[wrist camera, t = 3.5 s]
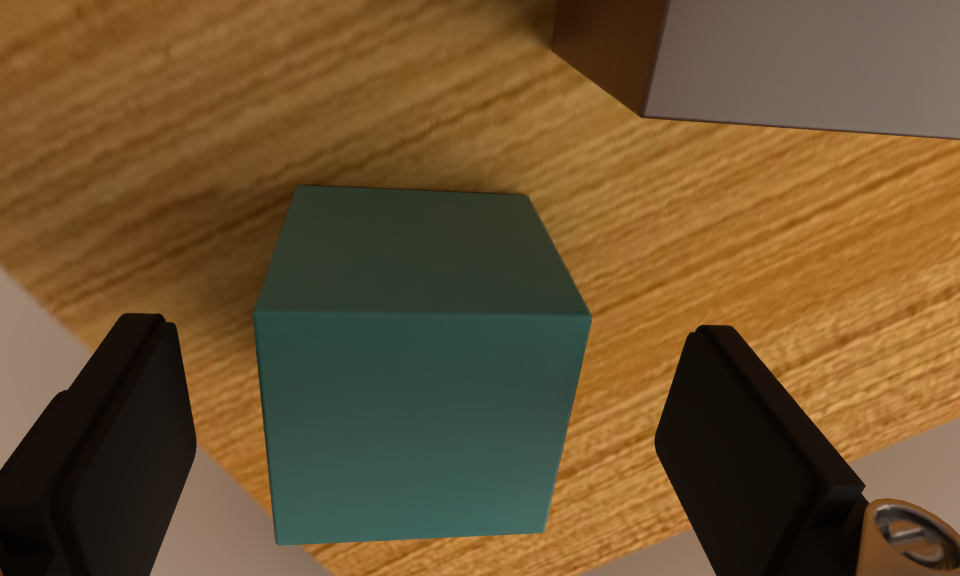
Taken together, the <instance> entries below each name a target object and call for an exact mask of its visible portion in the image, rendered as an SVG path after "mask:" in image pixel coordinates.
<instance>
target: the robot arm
mask: <svg viewBox="0 0 960 576" xmlns="http://www.w3.org/2000/svg"><path fill="white" fill-rule="evenodd" d="M655 449H656V453H657V455H658V457H659V459H660V461H661V463H662V465H663V468H664V470H665V472H666V474H667V476H668V478H669V480H670V482H671V484H672V486H673V488H674V490H675V492H676V494H677V496H678V498H679V500H680V502H681V504H682V506H683V508H684V510H685V512H686V515H687V517H688V519H689V521H690V523H691V525H692V527H693V529H694V531H695V533H696V535H697V537H698V539H699V541H700V543H701V545H702V547H703V549H704V551H705V553H706V555H707V557H708V559H709V562H710V564H711V566H712V568H713V570H714V572H715V574H716V576H960V535H959V534H958V533H957V532H956V531H955V530H954V529H953V528H952V527H951V526H950V525H948V524H947V523H946V522H944V521H942V520H941V519H940V518H939V517H937V516H936V515H934V514H932V513H931V512H929V511H927V510H925V509H923V508H921V507H919V506H916V505H914V504H911V503H908V502H905V501H902V500H896V499H889V498H886V499H877V500H875V501H873V502H872V503H869V502H868V501H867V500H866V499H865V498H864V496H863V495H862V494H861V493H862V491H863V489H864V488H865V486H866V485H865V484H864V483H863V482H862V480H861V479H860V478H859V477H858V476H857V475H856V473H855V472H854V471H853V470H852V468H851V467H850V466H849V465H848V464H847V463H846V461H845V460H844V459H843V458H842V457H841V455H840V454H839V453H838V452H837V451H836V449H835V448H834V447H833V446H832V445H831V443H830V442H829V441H828V440H827V439H826V437H825V436H824V435H823V434H822V433H821V431H820V430H819V429H818V428H817V427H816V425H815V424H814V423H813V422H812V421H811V419H810V418H809V417H808V416H807V415H806V413H805V412H804V411H803V410H802V409H801V407H800V406H799V405H798V404H797V403H796V401H795V400H794V399H793V398H792V397H791V395H790V394H789V393H788V392H787V391H786V389H785V388H784V387H783V386H782V385H781V384H780V382H779V381H778V380H777V379H776V378H775V376H774V375H773V374H772V373H771V372H770V370H769V369H768V368H767V367H766V366H765V364H764V363H763V362H762V361H761V360H760V358H759V357H758V356H757V355H756V354H755V352H754V351H753V350H752V349H751V348H750V346H749V345H748V344H747V343H746V342H745V340H744V339H743V338H742V337H741V336H740V334H739V333H738V332H737V331H736V330H735V329H734V328H733V327H732V326H728V325H701V326H699V327H698V328H697V329H696V331H695V332H692V333H690V334H689V335H688V336H687V338H686V341H685V344H684V347H683V351H682V354H681V357H680V360H679V363H678V366H677V369H676V372H675V375H674V378H673V381H672V385H671V388H670V391H669V394H668V397H667V400H666V403H665V406H664V409H663V412H662V415H661V419H660V422H659V425H658V428H657V431H656V434H655ZM195 453H196V434H195V428H194V423H193V417H192V411H191V406H190V400H189V394H188V389H187V383H186V378H185V372H184V366H183V361H182V355H181V349H180V344H179V338H178V332H177V328H176V325H175V324H174V323H173V322H166V321H165V319H164V317H163V315H161V314H145V313H125V314H122V315H121V316H120V318H119V319H118V320H117V322H116V323H115V324H114V326H113V327H112V329H111V330H110V331H109V333H108V334H107V336H106V337H105V338H104V340H103V341H102V343H101V344H100V345H99V347H98V348H97V350H96V351H95V352H94V354H93V355H92V357H91V358H90V359H89V361H88V362H87V364H86V365H85V366H84V368H83V369H82V371H81V372H80V373H79V375H78V376H77V378H76V379H75V381H74V382H73V383H72V385H71V386H70V387H69V389H68V390H64V391H62V392H60V393H58V394H57V395H56V396H55V397H54V398H53V399H52V400H51V402H50V403H49V405H48V406H47V407H46V409H45V410H44V411H43V413H42V414H41V415H40V417H39V418H38V419H37V421H36V422H35V423H34V425H33V426H32V428H31V429H30V430H29V432H28V433H27V434H26V436H25V437H24V438H23V440H22V441H21V443H20V444H19V445H18V447H17V448H16V449H15V451H14V452H13V453H12V455H11V456H10V458H9V459H8V460H7V462H6V463H5V464H4V466H3V467H2V469H1V470H0V576H150V573H151V570H152V568H153V565H154V563H155V560H156V557H157V555H158V552H159V550H160V547H161V544H162V542H163V539H164V536H165V534H166V531H167V529H168V526H169V523H170V521H171V518H172V515H173V513H174V511H175V508H176V505H177V503H178V500H179V498H180V495H181V492H182V490H183V487H184V484H185V482H186V479H187V477H188V474H189V471H190V469H191V466H192V464H193V461H194V458H195Z"/></svg>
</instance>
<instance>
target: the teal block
mask: <svg viewBox="0 0 960 576" xmlns="http://www.w3.org/2000/svg"><path fill="white" fill-rule="evenodd" d="M252 315H253V325H254V335H255V345H256V354H257V364H258V374H259V384H260V394H261V404H262V414H263V424H264V434H265V444H266V453H267V463H268V473H269V483H270V493H271V503H272V513H273V523H274V533H275V541H276V544H277V545H301V544H322V543H343V542H364V541H385V540H406V539H427V538H448V537H469V536H490V535H511V534H532V533H542V532H544V531H545V526H546V522H547V517H548V513H549V508H550V504H551V499H552V495H553V491H554V486H555V482H556V477H557V473H558V468H559V464H560V459H561V455H562V451H563V446H564V442H565V437H566V433H567V428H568V424H569V419H570V415H571V411H572V406H573V402H574V397H575V393H576V388H577V384H578V379H579V375H580V371H581V366H582V362H583V357H584V353H585V348H586V344H587V339H588V335H589V330H590V326H591V322H592V315H591V313H590V311H589V309H588V307H587V305H586V303H585V302H584V300H583V298H582V296H581V294H580V292H579V290H578V288H577V286H576V285H575V283H574V281H573V279H572V277H571V275H570V273H569V271H568V270H567V268H566V266H565V264H564V262H563V260H562V258H561V256H560V255H559V253H558V251H557V249H556V247H555V245H554V243H553V241H552V239H551V238H550V236H549V234H548V232H547V230H546V228H545V226H544V224H543V223H542V221H541V219H540V217H539V215H538V213H537V211H536V209H535V208H534V206H533V204H532V202H531V200H530V198H529V196H527V195H507V194H485V193H462V192H440V191H418V190H396V189H373V188H351V187H329V186H307V185H299V186H297V187H296V189H295V192H294V195H293V198H292V201H291V204H290V206H289V209H288V212H287V215H286V218H285V221H284V224H283V227H282V230H281V233H280V235H279V238H278V241H277V244H276V247H275V250H274V253H273V256H272V259H271V262H270V264H269V267H268V270H267V273H266V276H265V279H264V282H263V285H262V288H261V291H260V293H259V296H258V299H257V302H256V305H255V308H254V311H253V314H252Z"/></svg>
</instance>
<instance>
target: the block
mask: <svg viewBox="0 0 960 576" xmlns="http://www.w3.org/2000/svg"><path fill="white" fill-rule="evenodd" d="M551 50H552V52H553V53H555V54H556V55H557V56H559V57H560V58H562V59H563V60H564V61H566V62H567V63H568V64H570V65H571V66H572V67H574V68H575V69H576V70H578V71H579V72H580V73H582V74H583V75H584V76H586V77H587V78H588V79H590V80H591V81H592V82H594V83H595V84H596V85H598V86H599V87H600V88H602V89H603V90H605V91H606V92H607V93H609V94H610V95H611V96H613V97H614V98H615V99H617V100H618V101H619V102H621V103H622V104H623V105H625V106H626V107H627V108H629V109H630V110H631V111H633V112H634V113H635V114H637V115H638V116H639V117H641V118H647V119H661V120H676V121H691V122H705V123H720V124H735V125H749V126H764V127H779V128H793V129H808V130H823V131H837V132H852V133H867V134H881V135H896V136H911V137H925V138H940V139H955V140H960V0H558V6H557V13H556V20H555V27H554V33H553V40H552V47H551Z"/></svg>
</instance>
